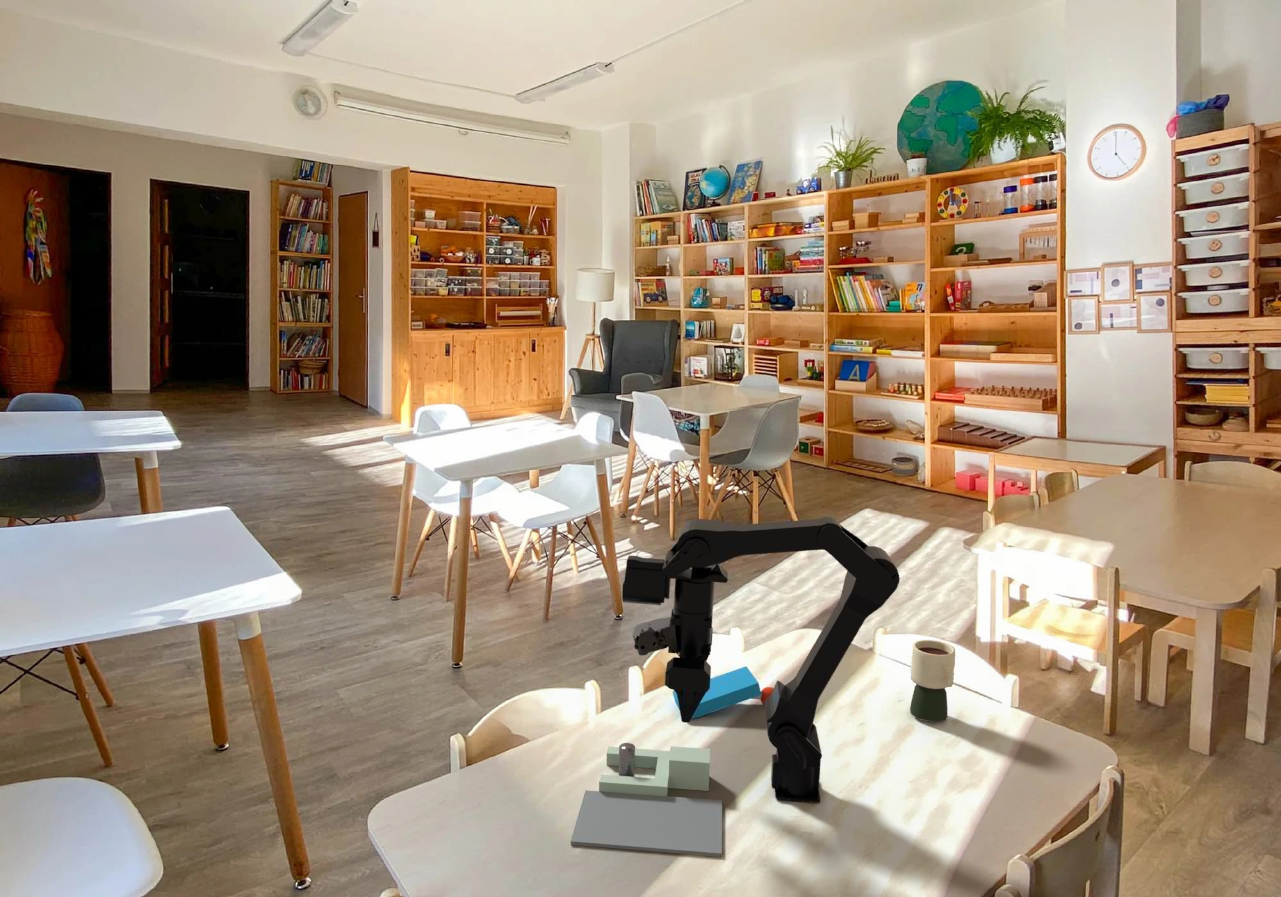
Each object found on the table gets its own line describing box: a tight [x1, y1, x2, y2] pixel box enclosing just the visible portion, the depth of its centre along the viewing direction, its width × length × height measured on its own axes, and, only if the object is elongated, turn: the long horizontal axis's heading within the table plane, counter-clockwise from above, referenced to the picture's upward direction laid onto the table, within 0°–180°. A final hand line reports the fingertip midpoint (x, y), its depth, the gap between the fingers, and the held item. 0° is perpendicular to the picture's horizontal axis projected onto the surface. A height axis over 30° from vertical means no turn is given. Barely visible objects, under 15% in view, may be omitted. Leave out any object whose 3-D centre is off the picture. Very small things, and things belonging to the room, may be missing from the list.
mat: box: [570, 789, 723, 858], centre depth 119 cm, size 20×12×1 cm, turn 84°
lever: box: [672, 666, 774, 720], centre depth 153 cm, size 7×7×18 cm
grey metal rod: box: [618, 742, 636, 777], centre depth 130 cm, size 2×2×5 cm
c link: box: [598, 745, 711, 796], centre depth 129 cm, size 16×10×4 cm, turn 84°
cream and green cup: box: [909, 639, 956, 722], centre depth 150 cm, size 11×7×13 cm, turn 17°
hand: (687, 706), depth 127 cm, fingers open, 9 cm apart
